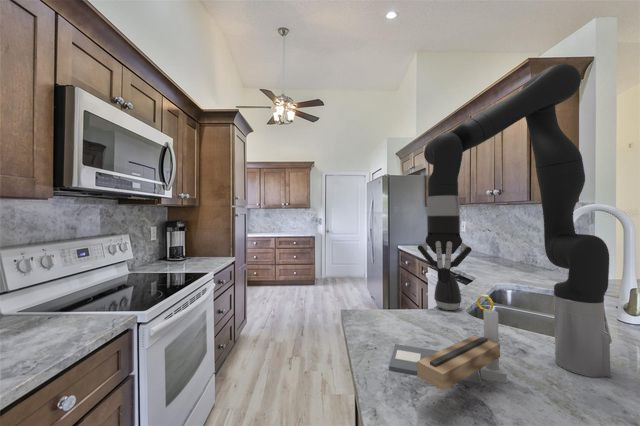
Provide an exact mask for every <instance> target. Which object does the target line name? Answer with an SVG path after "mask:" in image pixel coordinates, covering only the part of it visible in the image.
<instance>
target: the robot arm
mask: <svg viewBox="0 0 640 426" xmlns="http://www.w3.org/2000/svg"><path fill="white" fill-rule="evenodd" d="M581 82H582V77H581V73H580V71H579V70H578V68H577V67H576V66H574V65H572V64H569V63H558V64H557V63H556V64H554V65H552V66H549V67H548V68H546V69H544V70H543V71H541V72H539V73H538V74H536V75H535V76H533V77H531V78H530V79H529V80H528V81H526V82H525V83H524V85H523V86H522V88H521V89H520V90H519V91H517V92H516V93H513V94H512V95H510V96H509V97H507V98H505V99H503V100H501V101H499V102H497V103H495V104H493V105H492V106H489V107H488V108H486V109H484V110H481V111H480V112H478V113H476V114H475V115H473V116H471V117H470V118H467V119H466V120H465V121H463V122H461V123H460V124H459V125H458V126H456V127H455V128H454V129H451V130H450V131H447V132H444V133H441V134H439V135H438V136H436V137H435V138H433V139H432V140H431V141H429V142H428V143H427V144H426V146H425V148H424V150H423V156H424V159H425V161H426V162H427V163H428V164H429V165H432V172H431V174H430V175H429V177H428V179H427V205H426V209H427V210H426V214H427V215H426V216H427V217H426V218H427V221H426V222H427V224H426V226H427V227H426V229H427V230H426V232H427V235H426V237H425V241H424V242H422V243H421V244H419V245H417V250H418V251H419V252H420V254H421V255H422V256H423V257H424V258H425V260H426V261H427V262H428V264H429V265H430V266H433V267H436V269H437V281H441V283H442V284H447V282H449V281H450V273H451V269H452V268H458V266H459V265H461V263H462V262H463V261H464V260H465V258H466V257H467V256H469V254H470V253H471V252H472V247H471V246H469V245H467V244H465V243H464V242H463V238H462V237H461V229H460V228H461V225H460V222H461V219H460V218H461V217H460V216H461V215H460V214H461V213H460V212H461V211H460V209H461V208H460V201H459V200H460V199H459V174H460V172H461V171H460V170H461V165H462V159H463V155H464V153H465V152H466V151H469V150H470V149H473V148H475V147H477V146H479V145H482V144H483V143H484V142H487V141H488V140H489V139H492V138H493V137H495V136H497V135H498V134H499V133H501V132H504V130H506V129H508V128H510V127H511V126H513V125H514V124H515V123H517V122H519V121H520V120H522V119H524V118H525V121H526V124H527V128H528V132H529V135H530V141H531V146H532V152H533V156H534V164H535V172H536V177H537V178H536V179H537V183H538V187H539V193H540V202H541V207H542V216H543V235H544V237H543V239H544V240H543V241H544V250H545V251H544V252H545V254H546V255H545V256H546V257H547V259H548V260H549V262H550V263H551V265H554V266H556V267H558V268H561V269H562V268H563V269H566V270H568V275H567V279H566V280H565V281H561V282H556V283H555V284H554V285H553V303H554V304H553V307H554V312H553V313H554V315H553V316H554V357H555V363H556V365H558V366H559V367H561V368H563V369H564V370H567V371H569V372H572V373H574V374H578V375H582V376H586V377H593V378H600V377H602V378H603V377H609V378H610V377H611V349H610V348H611V347H610V346H611V344H610V335H609V334H607V333H606V332H605V331H606V329H605V328H606V327H605V323H606V321H605V295H606V293H607V290H608V289H609V280H610V278H609V277H610V276H609V273H610V252H609V247H608V246H607V244H606V242H605V241H604V240H603V239H602V238H601V237H598V236H597V235H593V234H586V233H585V234H583V233H576V232H577V231H576V230H575V222H574V212H575V207H576V205H577V202H578V200H579V198H580V196H581V195H582V194H581V193H582V192H583V189H584V186H585V184H586V183H585V182H586V172H585V168H584V167H585V166H584V161H583V155H582V153H581V151H580V149H579V148H578V147H577V146H576V145H575V143H574V142H573V141H572V140H571V139H570V138H569V137H568V136H567V135H566V134H565V133H564V132H563V131H562V129H561V127H560V125H559V122H558V118H557V117H558V116H557V113H556V106H557V105H560V104H561V103H563V102H565V101H567V100H568V99H570V98H571V97H573V96H574V95H575V94H576V93H577V91H578V90H579V89H580V86H581ZM428 247H429V248H430V249H431V251H432V252H433V253H434V254H435V255H436V260H435V259H434V258H433V257H432V256H431V254H430V253H429V252H428V250H429V248H428ZM458 249H459V254H458V255H456V256H455V258H454V259H453V260H452V255H453V254H455V253H456V251H457V250H458ZM443 255H444V263H443ZM451 260H452V261H451Z"/></svg>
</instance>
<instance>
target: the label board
mask: <svg viewBox="0 0 640 426" xmlns="http://www.w3.org/2000/svg"><path fill="white" fill-rule="evenodd" d="M499 333H500V332H499V312H498V311H496V310H493V309H492V310H483V337H484V338H487V339H488V340H491V341H494V342H497V343H499V341H500V340H499V339H500V338H499ZM392 351H393V352H392V354H391V358H390V362H389V366H388V371H391V372H397V373H402V374H406V375H407V374H408V375H412V376H417V361H419V360H421V359H423V358H426V357H428V356H430V355H432V354H434V353H437V352H439V351H440V350H435V349H430V348H423V347H417V346H410V345H404V344H399V343H398V344H397V343H395V344H394V348H393V350H392ZM480 375H481V376H480ZM485 379H486V381H492V382H497V383H502V384H507V383H508V382H507V381H508V380H507V379H508V375H507V373H506V370H505V368H504V365H503V364H502V363H500V357H499V358H498V359H496V360H494V361H493V362H491V363H489V364H488V365H486V366H484V367H483V368H481V369H479V370H478V371H476V372H474V373H473V374H471V375H469V376H468V377H466V378H464V379H463V380H461V381H459V382H458V383H457V384H459V385H464V386H469V385H470V386H469V387H474V386H476V387H475V388H479V387H481V388H480V389H482V388H483V386H482V385H483V384H482V380H485Z"/></svg>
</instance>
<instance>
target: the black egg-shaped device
mask: <svg viewBox="0 0 640 426" xmlns="http://www.w3.org/2000/svg"><path fill="white" fill-rule="evenodd" d="M460 277H462V274H461V273H458V274H453V273H452V272H450V281H449V282H447V284H442V283H441V281H438V280H437V281H436V285H435V288H434V295H433V297H434V298H433V299H434V300H435V304H436V306H437V307H439V309H441V308H442V309H441V310H443V309H446V310H445V311H448V310H453V311H456V310H457V309H459V308H460V305H461V303H462V293H461V289H460V286H459V283H458V281H457V279H459V278H460Z"/></svg>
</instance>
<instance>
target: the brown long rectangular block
mask: <svg viewBox="0 0 640 426" xmlns="http://www.w3.org/2000/svg"><path fill="white" fill-rule="evenodd" d="M438 351H439V352H437V353H434V354H432V355H430V356H428V357H426V358H423V359H421V360H419V361H417V375H416V377H417V378H418V379H421V380H423V381H425V382H427V383H429V384H430V385H432V386H434V387H436V388H437V389H439V390H441V391H442V392H444V391H446V390H448V389H449V388H450V387H452V386H455V384H458V382H459V381H461V380H463V379H464V378H466V377H468V376H469V375H471V374H473V373H474V372H476V371H478V372H479V369H481V368H483V367H484V366H486V365H488V364H489V363H491V362H493V361H494V360H496V359H498V358H499V359H500V358H501V343H497V342H494V341H491V340H488V339H487V338H484V336H479V335H475V334H474V335H472V336H470V337H468V338H465V339H463V340H461V341H458V342H457V343H454V344H452V345H450V346H447V347H445V348H443V349H441V350H438Z"/></svg>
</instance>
